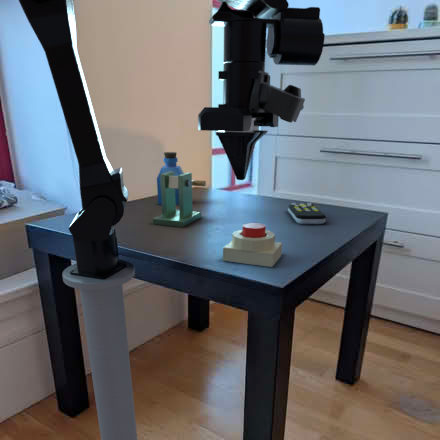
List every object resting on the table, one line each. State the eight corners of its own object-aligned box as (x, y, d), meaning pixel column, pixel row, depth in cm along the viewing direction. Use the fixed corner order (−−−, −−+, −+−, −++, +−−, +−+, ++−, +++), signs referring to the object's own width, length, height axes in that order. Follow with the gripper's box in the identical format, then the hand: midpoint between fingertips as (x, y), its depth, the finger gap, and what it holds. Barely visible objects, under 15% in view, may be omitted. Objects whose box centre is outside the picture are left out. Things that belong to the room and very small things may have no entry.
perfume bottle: (158, 204, 104) (155, 153, 99) (162, 199, 110) (159, 151, 105) (182, 204, 104) (181, 154, 99) (185, 199, 110) (184, 151, 105)
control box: (271, 268, 63) (273, 242, 61) (222, 261, 65) (222, 236, 64) (281, 255, 68) (283, 231, 67) (235, 249, 71) (236, 226, 69)
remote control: (297, 225, 86) (297, 215, 85) (286, 211, 98) (287, 202, 97) (326, 224, 86) (328, 215, 85) (313, 211, 98) (313, 202, 97)
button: (261, 240, 63) (262, 229, 63) (239, 238, 65) (239, 227, 64) (267, 234, 66) (268, 224, 66) (246, 232, 68) (246, 221, 67)
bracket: (172, 214, 94) (170, 169, 90) (201, 217, 92) (200, 171, 88) (153, 224, 86) (150, 175, 82) (183, 227, 84) (182, 177, 80)
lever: (181, 187, 95) (181, 176, 94) (205, 189, 93) (206, 178, 92) (160, 187, 86) (160, 175, 85) (186, 189, 84) (187, 177, 83)
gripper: (285, 54, 47) (276, 194, 53) (314, 68, 63) (305, 175, 69) (195, 57, 51) (197, 188, 57) (244, 70, 66) (241, 171, 73)
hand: (240, 179), depth 64 cm, fingers closed
